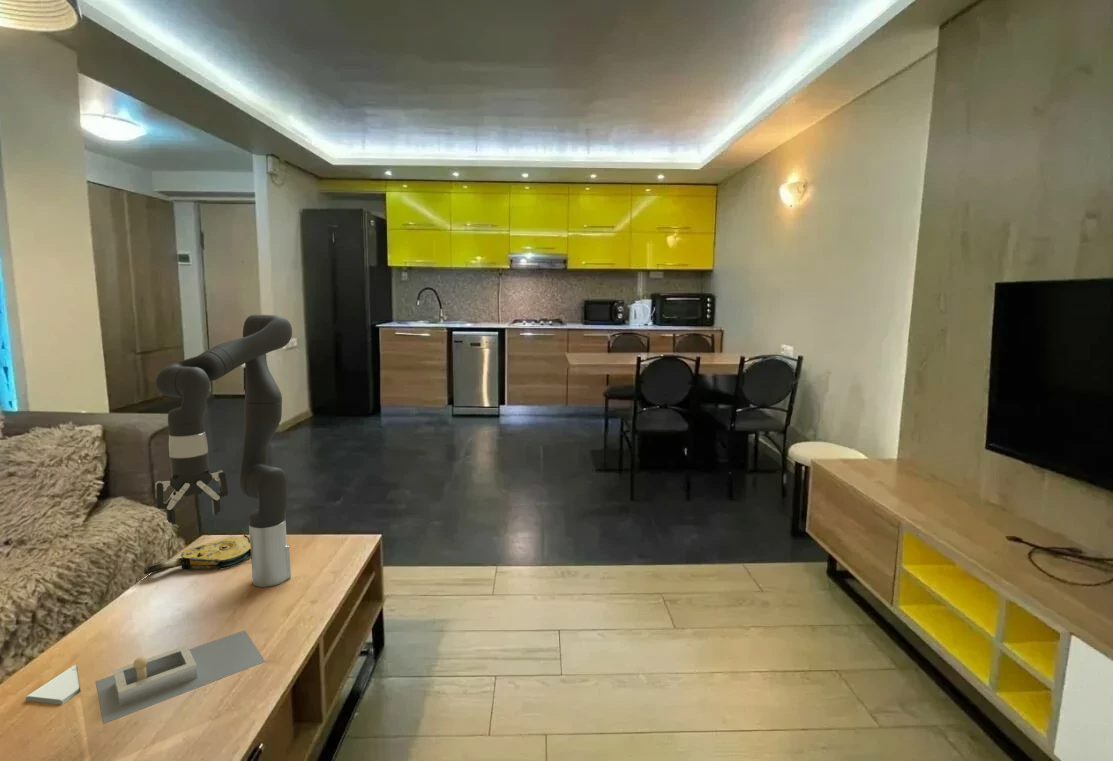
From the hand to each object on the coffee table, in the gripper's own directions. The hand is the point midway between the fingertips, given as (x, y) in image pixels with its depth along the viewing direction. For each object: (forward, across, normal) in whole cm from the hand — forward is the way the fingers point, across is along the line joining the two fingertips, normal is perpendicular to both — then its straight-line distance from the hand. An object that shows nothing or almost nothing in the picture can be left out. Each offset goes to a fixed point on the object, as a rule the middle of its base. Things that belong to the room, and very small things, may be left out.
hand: (194, 519), depth 136 cm
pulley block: (+29, -8, -40) cm, 50 cm away
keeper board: (+28, +7, +17) cm, 34 cm away
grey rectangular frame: (+27, +12, +17) cm, 34 cm away
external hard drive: (+29, +24, +4) cm, 38 cm away
